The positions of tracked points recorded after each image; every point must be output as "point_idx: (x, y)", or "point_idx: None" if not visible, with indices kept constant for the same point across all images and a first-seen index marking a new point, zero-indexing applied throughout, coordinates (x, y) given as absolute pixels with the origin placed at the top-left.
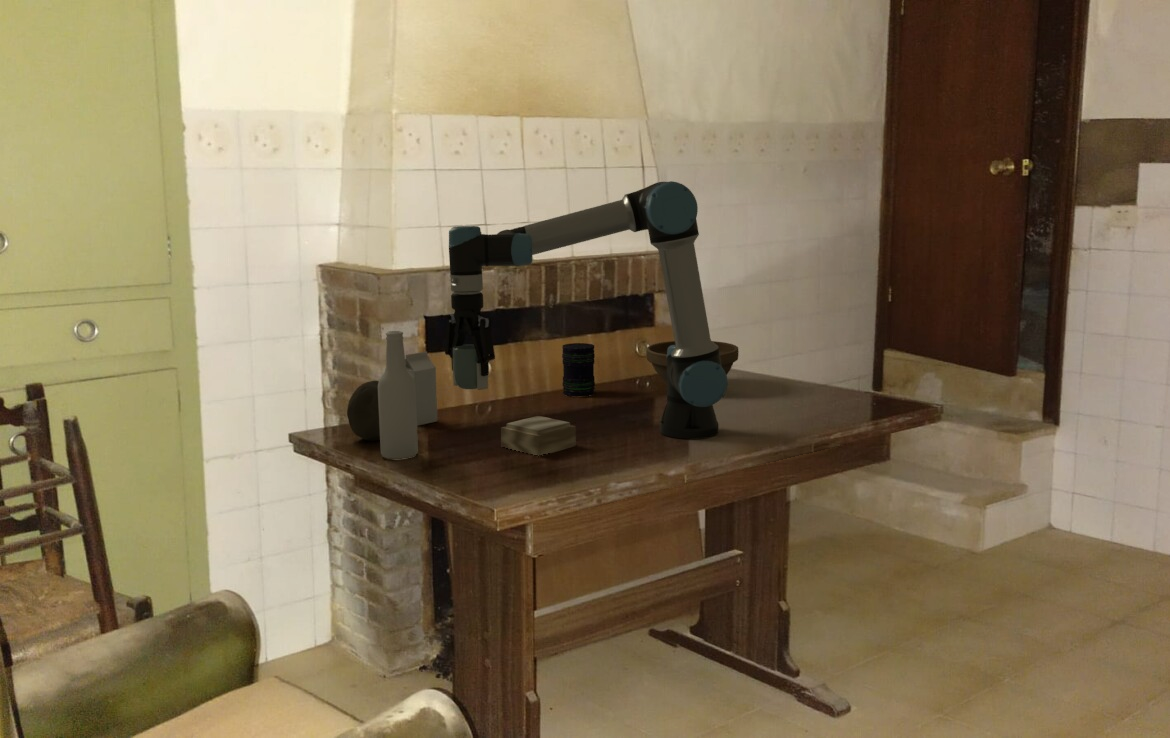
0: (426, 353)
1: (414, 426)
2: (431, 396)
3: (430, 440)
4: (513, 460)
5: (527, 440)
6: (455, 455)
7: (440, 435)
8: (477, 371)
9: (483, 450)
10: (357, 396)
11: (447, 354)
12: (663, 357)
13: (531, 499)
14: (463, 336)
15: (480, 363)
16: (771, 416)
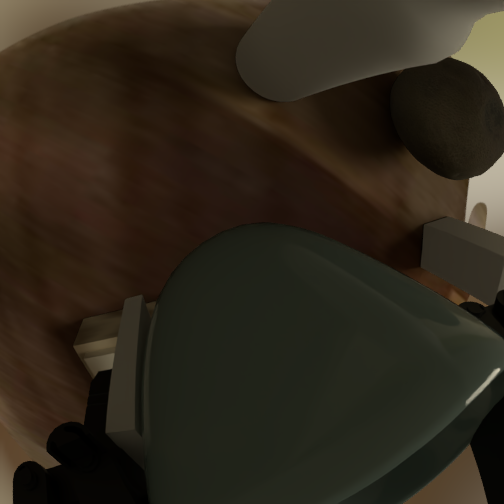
0: None
1: (266, 55)
2: (455, 274)
3: (344, 189)
4: (78, 263)
5: (107, 329)
6: (194, 165)
7: (360, 227)
8: (126, 370)
9: (193, 245)
10: (470, 65)
11: (496, 297)
12: None
13: None
14: (501, 500)
15: (119, 441)
16: None
